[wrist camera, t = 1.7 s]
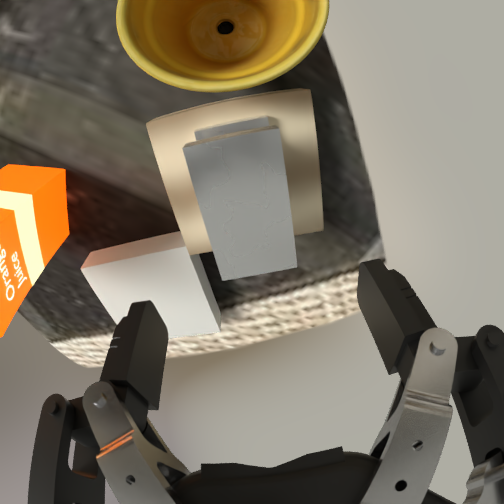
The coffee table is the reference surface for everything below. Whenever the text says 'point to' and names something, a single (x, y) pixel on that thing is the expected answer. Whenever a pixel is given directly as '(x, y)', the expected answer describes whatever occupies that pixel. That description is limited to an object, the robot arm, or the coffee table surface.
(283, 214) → the block
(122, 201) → the coffee table surface
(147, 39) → the plant pot
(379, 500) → the robot arm
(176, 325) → the stand
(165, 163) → the stand
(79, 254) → the coffee table surface
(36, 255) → the orange juice
